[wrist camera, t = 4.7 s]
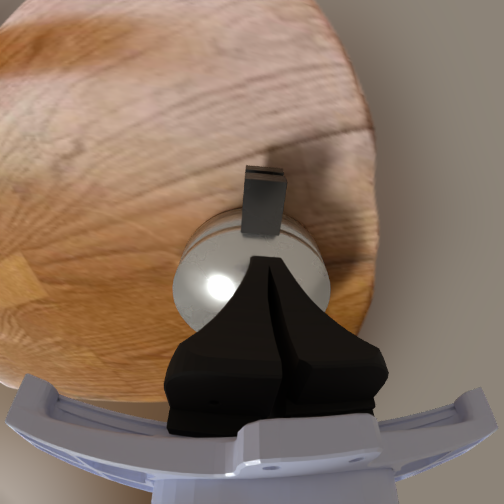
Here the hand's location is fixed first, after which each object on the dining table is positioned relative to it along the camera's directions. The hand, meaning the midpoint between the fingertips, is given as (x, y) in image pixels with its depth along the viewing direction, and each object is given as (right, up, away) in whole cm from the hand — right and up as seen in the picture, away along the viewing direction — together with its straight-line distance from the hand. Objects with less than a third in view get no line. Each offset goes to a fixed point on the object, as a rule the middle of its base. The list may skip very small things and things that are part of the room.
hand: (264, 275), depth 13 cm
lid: (0, -1, +8) cm, 8 cm away
